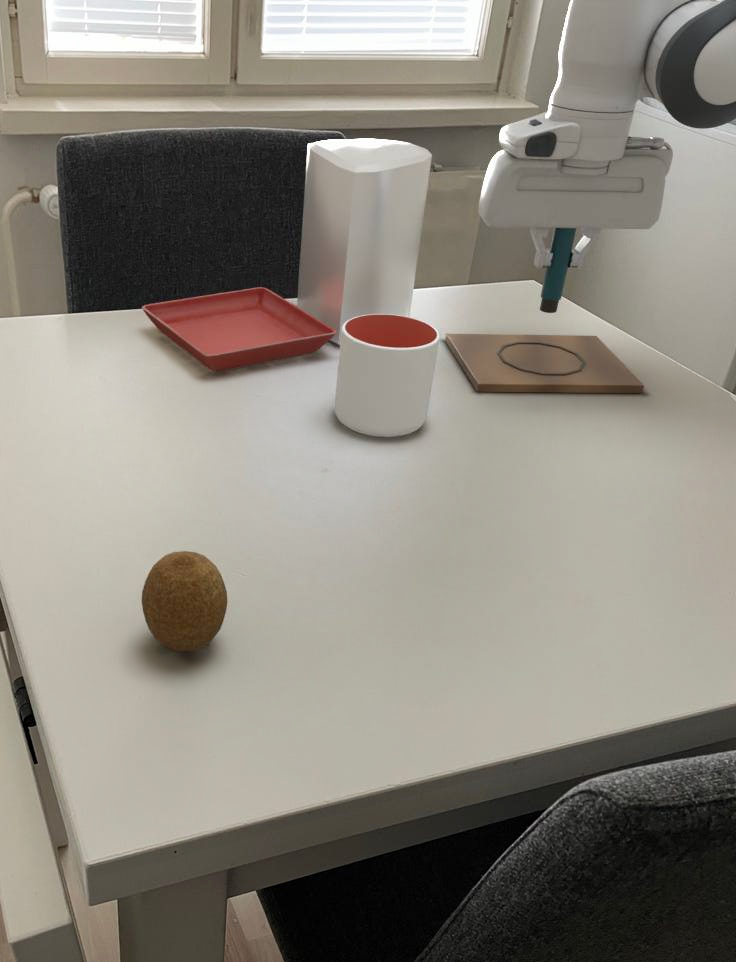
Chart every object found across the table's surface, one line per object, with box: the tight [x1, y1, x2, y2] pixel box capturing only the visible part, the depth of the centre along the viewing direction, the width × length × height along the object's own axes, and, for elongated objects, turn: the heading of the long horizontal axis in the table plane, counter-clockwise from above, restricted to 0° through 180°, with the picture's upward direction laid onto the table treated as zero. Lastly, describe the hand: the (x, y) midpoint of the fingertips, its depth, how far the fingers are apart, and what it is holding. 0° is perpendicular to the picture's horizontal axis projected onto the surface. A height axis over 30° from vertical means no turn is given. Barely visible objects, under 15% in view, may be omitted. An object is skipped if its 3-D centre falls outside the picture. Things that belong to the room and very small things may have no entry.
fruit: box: [141, 550, 229, 652], centre depth 72 cm, size 6×6×8 cm
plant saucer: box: [141, 286, 336, 373], centre depth 122 cm, size 18×18×3 cm
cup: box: [333, 314, 441, 438], centre depth 104 cm, size 10×10×10 cm
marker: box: [539, 228, 578, 314], centre depth 114 cm, size 2×2×13 cm
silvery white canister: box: [296, 138, 433, 345], centre depth 124 cm, size 15×14×22 cm
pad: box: [444, 333, 645, 394], centre depth 121 cm, size 20×16×1 cm
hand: (557, 266), depth 115 cm, fingers closed on marker, 2 cm apart
